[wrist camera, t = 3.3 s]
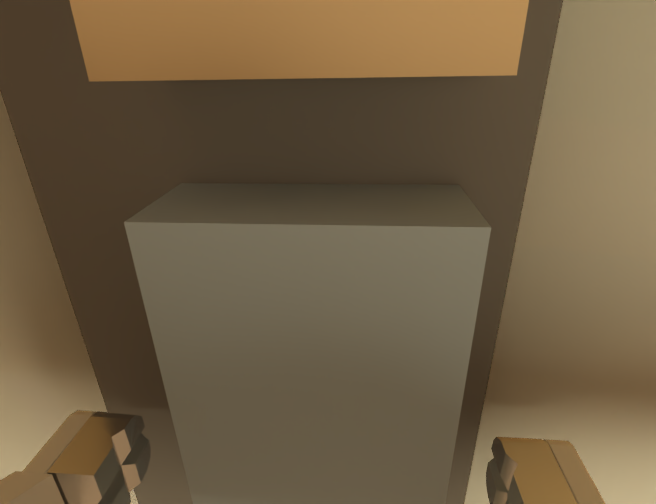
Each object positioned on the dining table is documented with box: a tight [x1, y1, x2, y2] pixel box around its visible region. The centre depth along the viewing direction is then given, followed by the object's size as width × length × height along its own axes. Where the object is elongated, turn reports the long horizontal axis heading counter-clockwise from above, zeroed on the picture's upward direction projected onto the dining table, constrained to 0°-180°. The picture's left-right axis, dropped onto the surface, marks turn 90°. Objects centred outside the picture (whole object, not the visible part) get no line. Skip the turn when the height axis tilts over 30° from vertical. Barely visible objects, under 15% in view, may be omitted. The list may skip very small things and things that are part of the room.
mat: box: [0, 0, 563, 504], centre depth 8 cm, size 26×10×1 cm, turn 1°
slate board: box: [124, 183, 491, 504], centre depth 9 cm, size 11×6×2 cm, turn 1°
